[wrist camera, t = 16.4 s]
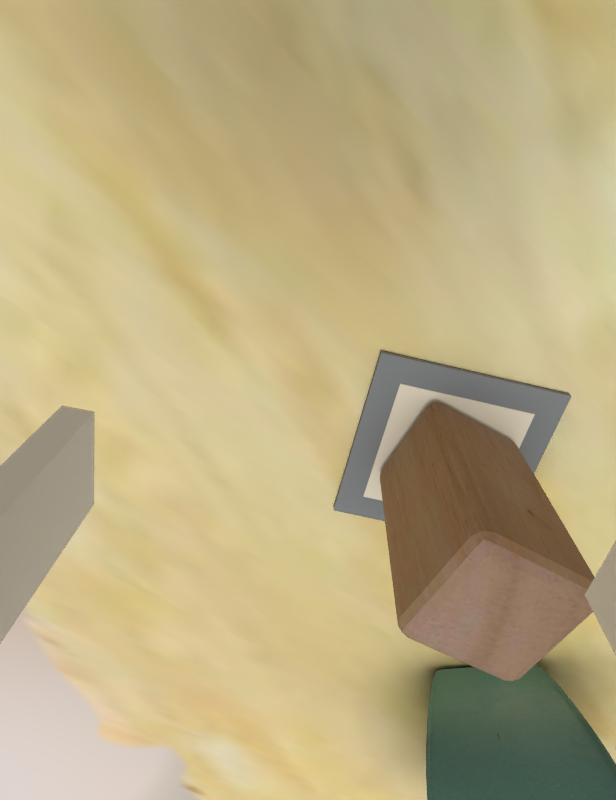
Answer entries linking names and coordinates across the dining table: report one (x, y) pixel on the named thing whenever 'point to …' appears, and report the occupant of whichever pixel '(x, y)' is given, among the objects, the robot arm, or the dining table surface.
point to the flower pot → (511, 741)
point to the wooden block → (478, 548)
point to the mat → (456, 388)
